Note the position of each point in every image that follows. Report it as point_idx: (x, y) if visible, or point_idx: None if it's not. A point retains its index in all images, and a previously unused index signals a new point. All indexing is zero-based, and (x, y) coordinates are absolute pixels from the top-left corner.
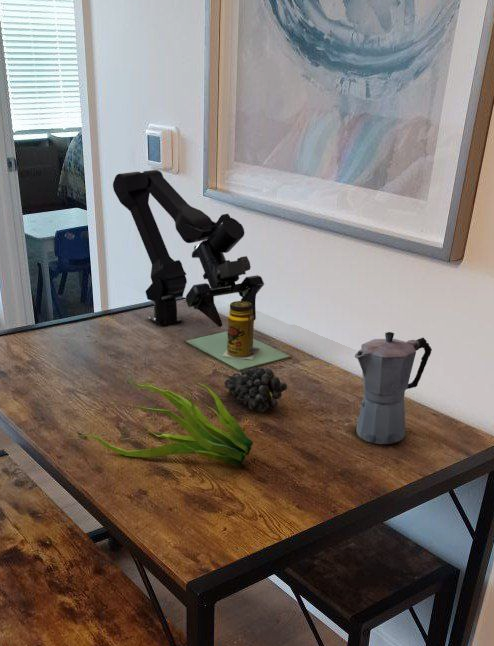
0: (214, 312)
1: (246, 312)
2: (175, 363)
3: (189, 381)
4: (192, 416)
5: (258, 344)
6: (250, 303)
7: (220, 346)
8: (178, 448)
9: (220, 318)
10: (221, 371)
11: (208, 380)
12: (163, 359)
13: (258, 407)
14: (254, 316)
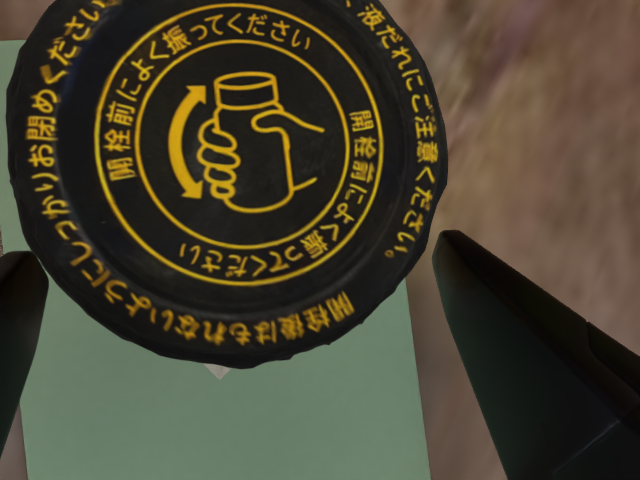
0: (575, 314)
1: None
2: (605, 265)
3: (631, 39)
4: None
5: (57, 307)
6: (46, 73)
7: (299, 376)
8: None
9: (473, 265)
10: (453, 66)
11: (554, 5)
12: (636, 340)
13: None
14: (8, 262)
